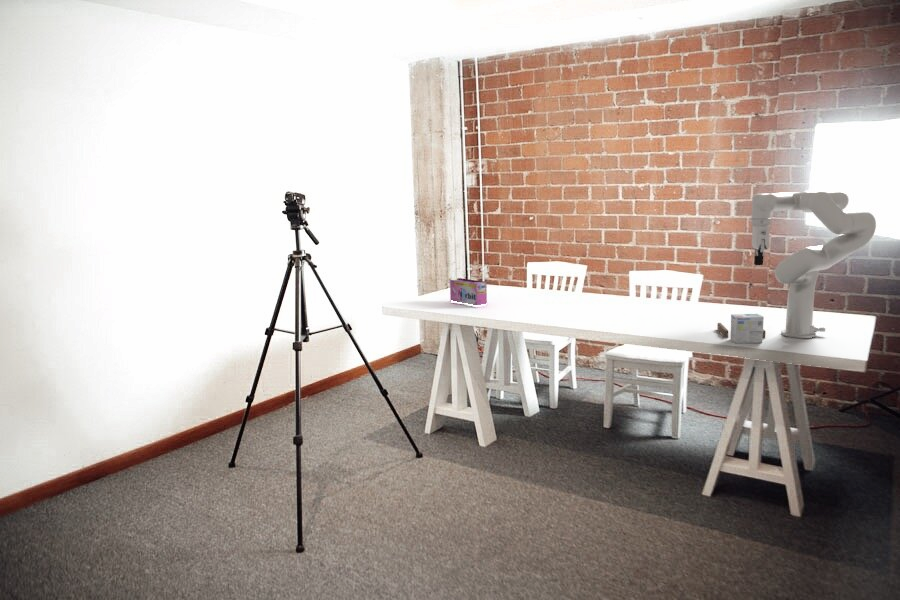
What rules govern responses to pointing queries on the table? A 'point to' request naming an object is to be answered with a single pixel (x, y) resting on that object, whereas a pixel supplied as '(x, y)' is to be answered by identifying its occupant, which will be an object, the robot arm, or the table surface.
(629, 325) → the table surface
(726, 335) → the walnut chute
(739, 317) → the light bulb box
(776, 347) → the table surface
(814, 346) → the table surface
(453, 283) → the gum box
